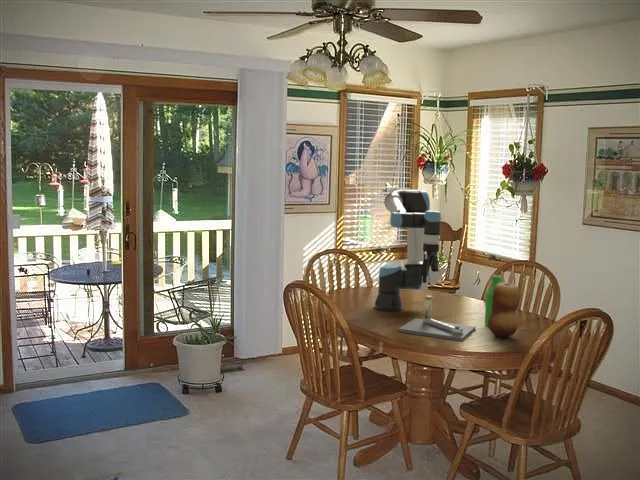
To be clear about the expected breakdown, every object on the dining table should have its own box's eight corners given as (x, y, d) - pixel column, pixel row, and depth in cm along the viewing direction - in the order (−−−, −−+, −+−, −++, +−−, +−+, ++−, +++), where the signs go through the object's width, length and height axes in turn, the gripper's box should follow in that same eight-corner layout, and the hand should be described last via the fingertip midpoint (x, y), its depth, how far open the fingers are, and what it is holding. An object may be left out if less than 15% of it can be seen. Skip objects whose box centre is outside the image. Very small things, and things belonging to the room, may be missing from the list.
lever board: (398, 331, 318) (398, 327, 317) (415, 321, 340) (415, 317, 339) (462, 341, 305) (462, 337, 304) (475, 329, 326) (475, 325, 326)
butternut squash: (515, 342, 305) (519, 287, 302) (485, 338, 310) (488, 284, 307) (518, 335, 318) (521, 282, 315) (488, 331, 323) (492, 279, 320)
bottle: (492, 328, 330) (496, 277, 327) (480, 324, 337) (483, 274, 334) (506, 327, 334) (510, 276, 331) (494, 323, 341) (497, 273, 338)
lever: (464, 333, 310) (466, 306, 309) (456, 334, 308) (457, 306, 306) (428, 320, 333) (429, 294, 332) (420, 321, 331) (421, 295, 329)
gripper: (431, 246, 313) (428, 292, 316) (446, 241, 335) (443, 283, 338) (415, 245, 316) (413, 290, 319) (431, 239, 338) (429, 281, 341)
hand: (428, 287), depth 328 cm, fingers open, 13 cm apart
